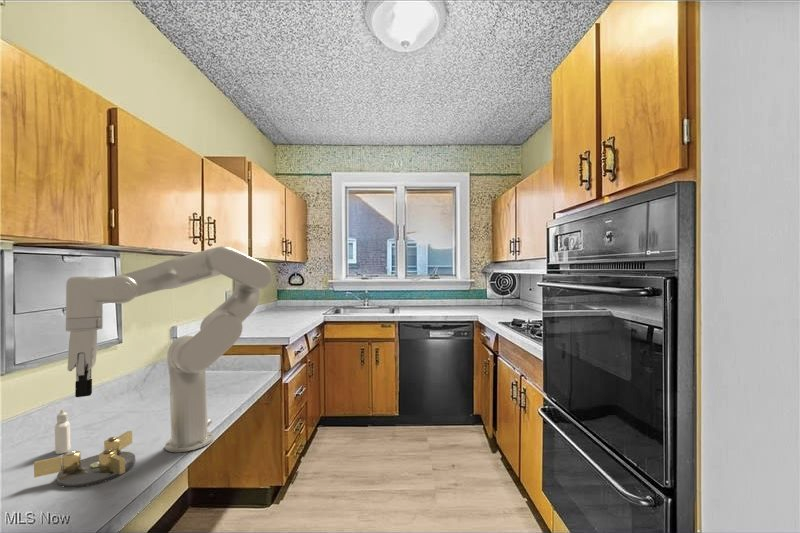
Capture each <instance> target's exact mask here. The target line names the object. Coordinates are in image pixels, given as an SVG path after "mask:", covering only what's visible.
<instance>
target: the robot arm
mask: <svg viewBox="0 0 800 533" xmlns="http://www.w3.org/2000/svg"><path fill="white" fill-rule="evenodd" d="M220 275H222V276H225V277H227V278H228V279H231V280H233V281H234V282H235V283H234V285H235V286H234V290H233V292H232V294H231V295H230V296H229V297H228V298H227V299H225V301H224V302H223V303H221V304H220V305H218V307H216V308H215V309H214V310H213V311H212V312H210V313H209V314H208V315H207V316H205V317H204V318H203V320H202V321H201V323H200V326H199V331H198V332H197V333H196V334H195V335H194V336H193V335H183V336H180V337H178V338H176V339H174V340H173V341H172V342H171V344H170V345H169V347H168V350H167V368H168V376H169V377H168V378H169V404H170V406H169V407H170V411H169V412H170V434H171V435H170V437H171V439H168V441H166V442H165V443H164V448H165V451H168V452H171V453H185V452H191V451H195V450H198V449H200V448H203V447H205V446H207V445H210V443H212V441H213V440H214V434H213V432H210V431H208V427H209V426H211V425H212V423H213V420H212V419H210V418H208V408H207V407H208V405H207V404H208V402H207V399H208V398H207V376H206V369H207V370H208V368H210V367H211V366H212V365H213V364H214V363H215V362H216V361H217V360H218V359H219V358H221V357H222V356H223V355H224V354H225V353H226V352H227V351H228V350H229V349H230V348H231V347H233V345H235V344H236V343H237V341H238V340H239V339H240V337H241V335H242V332H243V322H244V321H245V320H246V319H247V318H249V317H250V315H251V314H253V312H254V311H255V310H256V308H257V306H258V304H259V301H260V295H261V290H263V289H266V288H267V287H269V285H270V284H271V282H272V280H273V273H272V270H271V269H270V267H269V266H268V265H267V264H266V263H264V262H263V261H260V260H258V259H255V258H254V257H251V256H249V255H247V254H245V253H243V252H241V251H238V250H237V249H234V248H232V247H229V246H225V245H224V246H222V245H221V246H216V247H212V248H209V249H205V250H201V251H198V252H197V251H196V252H194V253H190V254H186V255H183V256H179V257H175V258H170V259H168V260H165V261H163V262H160V263H157V264H154V265H150V266H148V267H145V268H141V269H137V270H133V271H130V272H126V273H121V274H119V275H113V276H107V277H105V276H102V277H99V276H72V277H69V278H68V279H67V280H66V284H65V286H66V287H65V290H66V291H65V297H66V298H65V332H69V338H68V339H69V340H68V352H67V354H68V355H67V371H68V372H72V371H73V370H74V369H75V390H74V391H75V392H74V396H75V398H82V397H83V398H84V397H91V395H92V393H93V378H92V371H93V370H92V369H93V367H94V366H95V364H96V362H97V352H98V350H97V349H98V330H102V329H103V325H104V324H103V322H104V321H103V320H104V319H103V312H104V311H103V307H104V306H103V305H104V303H109V304H126V303H129V302H131V301H133V300H134V299H135V298H138V297H141V296H144V295H149V294H151V293H155V292H158V291H163V290H172V289H174V290H175V289H178V288H182V287H185V286H188V285H191V284H194V283H198V282H201V281H205V280H207V279H211V278H214V277H217V276H220Z"/></svg>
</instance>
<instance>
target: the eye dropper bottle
mask: <svg viewBox="0 0 800 533" xmlns="http://www.w3.org/2000/svg"><path fill="white" fill-rule="evenodd" d="M68 415H69V414H68V412H65V409H63V408H61V409H60V411H59V413H58V414H57V415H56V423H55V426H54V451H55V454H56V455H64V454H66V453H67V452H68V451H71V450H72V449H71V448H72V447H71V446H72V445H71V423H70V421H69V416H68Z"/></svg>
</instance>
